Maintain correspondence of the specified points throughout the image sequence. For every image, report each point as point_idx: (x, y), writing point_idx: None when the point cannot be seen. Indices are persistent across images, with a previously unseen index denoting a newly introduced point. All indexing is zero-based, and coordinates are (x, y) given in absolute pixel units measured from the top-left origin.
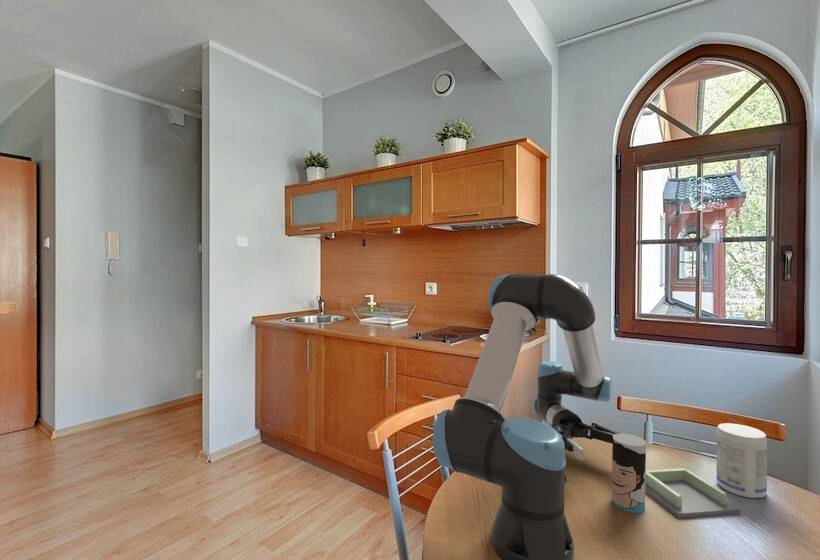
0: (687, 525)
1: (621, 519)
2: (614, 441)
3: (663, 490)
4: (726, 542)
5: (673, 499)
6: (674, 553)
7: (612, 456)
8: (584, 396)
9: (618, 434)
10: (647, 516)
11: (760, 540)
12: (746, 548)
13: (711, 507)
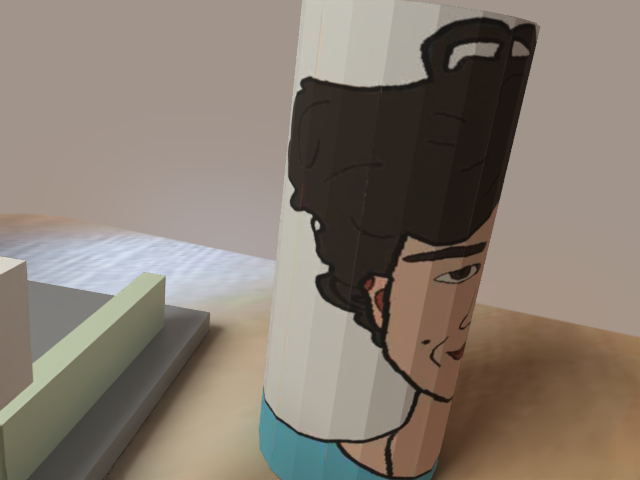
0: (224, 310)
1: (468, 389)
2: (534, 44)
3: (119, 341)
4: (199, 263)
5: (154, 314)
6: None
7: (497, 190)
8: None
9: (447, 7)
10: None
11: (92, 244)
12: (176, 248)
13: None
